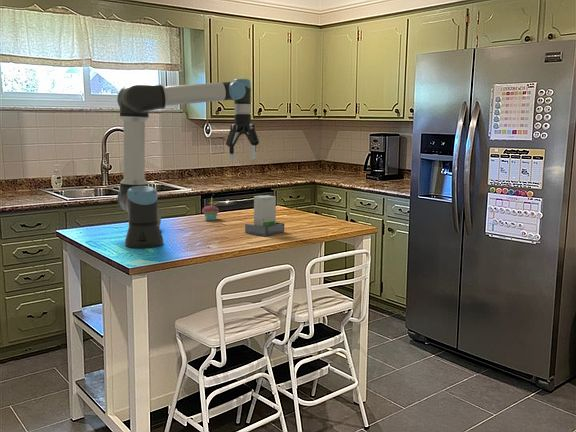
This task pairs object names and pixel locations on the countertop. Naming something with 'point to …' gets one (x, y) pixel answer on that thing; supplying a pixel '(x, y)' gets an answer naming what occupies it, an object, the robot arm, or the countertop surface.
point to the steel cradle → (264, 229)
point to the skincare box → (265, 210)
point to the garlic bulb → (159, 220)
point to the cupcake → (210, 212)
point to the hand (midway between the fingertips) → (243, 160)
